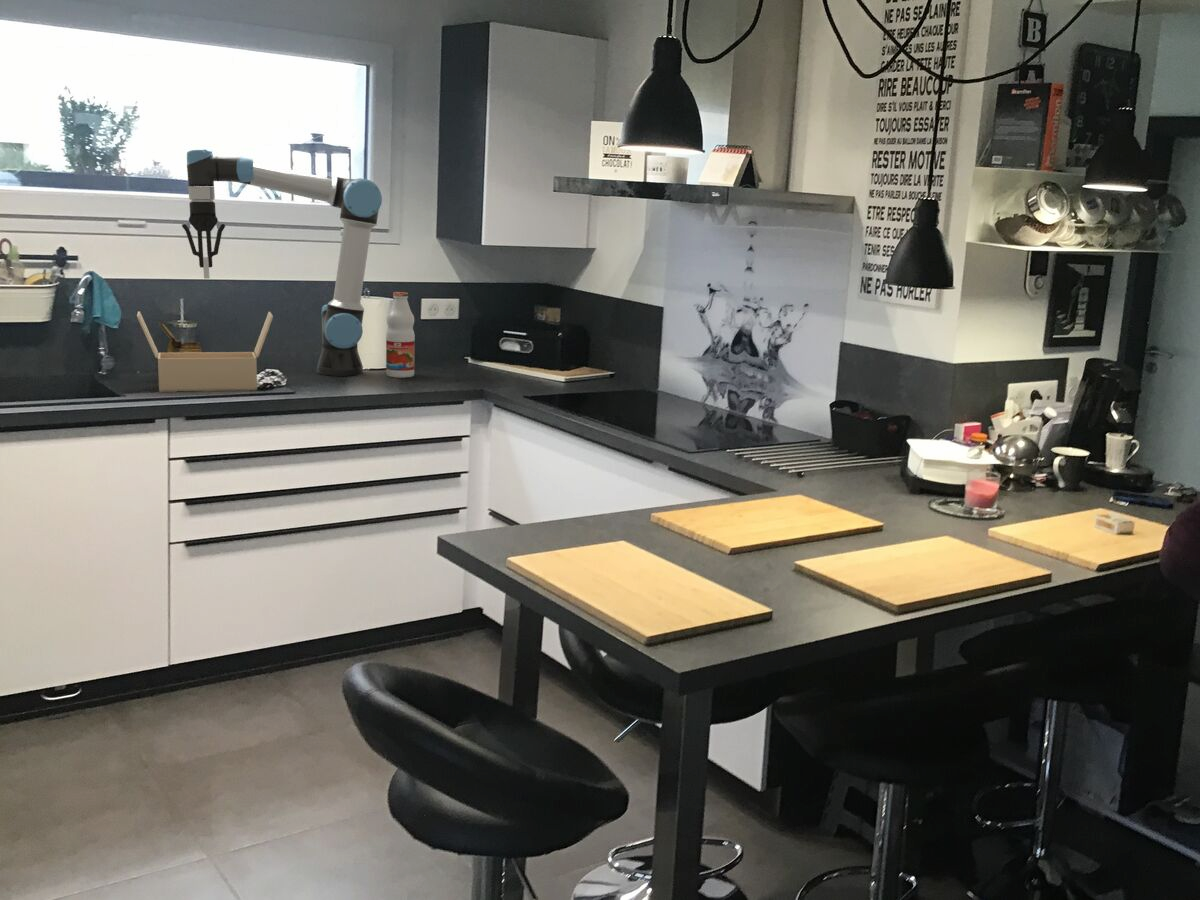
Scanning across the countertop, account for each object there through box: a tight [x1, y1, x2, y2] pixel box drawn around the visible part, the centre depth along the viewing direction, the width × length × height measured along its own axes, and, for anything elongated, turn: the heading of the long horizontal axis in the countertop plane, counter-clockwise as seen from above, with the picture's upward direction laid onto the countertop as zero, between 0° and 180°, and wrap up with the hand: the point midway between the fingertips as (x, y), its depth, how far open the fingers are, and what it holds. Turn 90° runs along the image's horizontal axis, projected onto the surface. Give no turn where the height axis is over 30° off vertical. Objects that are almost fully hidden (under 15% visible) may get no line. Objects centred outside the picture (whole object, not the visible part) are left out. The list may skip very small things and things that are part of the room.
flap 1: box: [136, 311, 159, 359], centre depth 352 cm, size 13×12×1 cm
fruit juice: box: [385, 291, 416, 379], centre depth 395 cm, size 9×9×28 cm
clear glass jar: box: [158, 321, 203, 353], centre depth 374 cm, size 9×14×18 cm, turn 105°
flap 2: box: [253, 311, 274, 358], centre depth 363 cm, size 13×12×1 cm
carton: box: [157, 351, 258, 393], centre depth 360 cm, size 28×13×10 cm, turn 109°
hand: (206, 278), depth 368 cm, fingers closed
